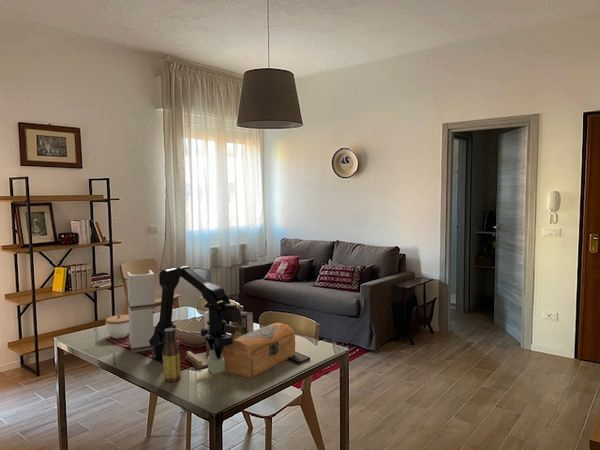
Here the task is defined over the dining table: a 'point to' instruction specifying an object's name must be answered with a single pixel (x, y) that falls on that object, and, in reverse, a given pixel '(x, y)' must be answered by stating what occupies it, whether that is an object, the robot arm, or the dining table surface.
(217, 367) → the cabinet block
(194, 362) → the cleat board
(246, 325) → the coffee box
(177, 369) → the sauce bottle
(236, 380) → the dining table surface
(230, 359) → the wooden box
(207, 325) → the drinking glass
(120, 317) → the lidded bowl
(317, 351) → the dining table surface
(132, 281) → the stacked white boxes
